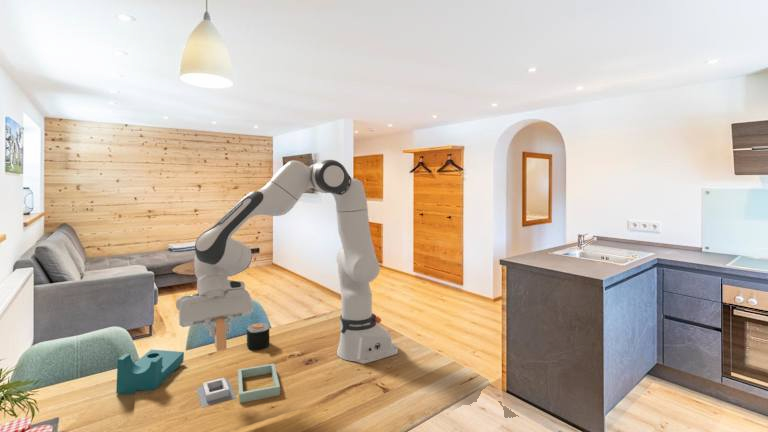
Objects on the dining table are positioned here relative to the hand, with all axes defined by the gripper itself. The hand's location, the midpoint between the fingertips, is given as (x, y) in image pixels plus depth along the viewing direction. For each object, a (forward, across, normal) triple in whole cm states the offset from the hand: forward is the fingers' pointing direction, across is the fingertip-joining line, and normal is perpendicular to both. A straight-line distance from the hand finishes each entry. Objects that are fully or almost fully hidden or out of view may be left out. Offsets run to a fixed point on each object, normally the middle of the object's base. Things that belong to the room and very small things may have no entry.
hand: (220, 333), depth 109 cm
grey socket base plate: (+13, -2, +14) cm, 19 cm away
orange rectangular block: (+3, 0, +4) cm, 5 cm away
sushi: (-7, +17, +34) cm, 39 cm away
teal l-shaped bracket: (-2, -18, +29) cm, 34 cm away
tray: (+14, +10, +12) cm, 21 cm away
